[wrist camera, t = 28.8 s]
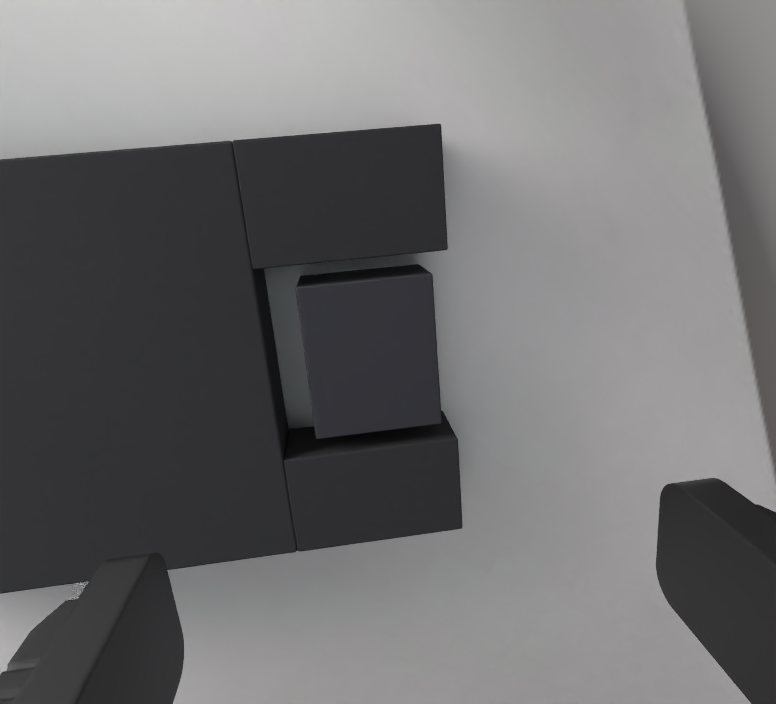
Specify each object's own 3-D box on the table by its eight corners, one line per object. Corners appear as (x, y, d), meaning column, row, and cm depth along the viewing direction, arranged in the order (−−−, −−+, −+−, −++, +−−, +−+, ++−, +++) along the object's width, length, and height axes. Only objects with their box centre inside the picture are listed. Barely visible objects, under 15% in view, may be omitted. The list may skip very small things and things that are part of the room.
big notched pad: (425, 133, 21) (441, 123, 18) (447, 492, 25) (463, 529, 23) (-235, 188, 19) (-335, 186, 16) (-84, 564, 24) (-140, 614, 21)
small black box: (419, 263, 22) (432, 273, 19) (428, 397, 24) (442, 424, 21) (299, 276, 22) (295, 287, 19) (317, 410, 24) (316, 439, 21)
